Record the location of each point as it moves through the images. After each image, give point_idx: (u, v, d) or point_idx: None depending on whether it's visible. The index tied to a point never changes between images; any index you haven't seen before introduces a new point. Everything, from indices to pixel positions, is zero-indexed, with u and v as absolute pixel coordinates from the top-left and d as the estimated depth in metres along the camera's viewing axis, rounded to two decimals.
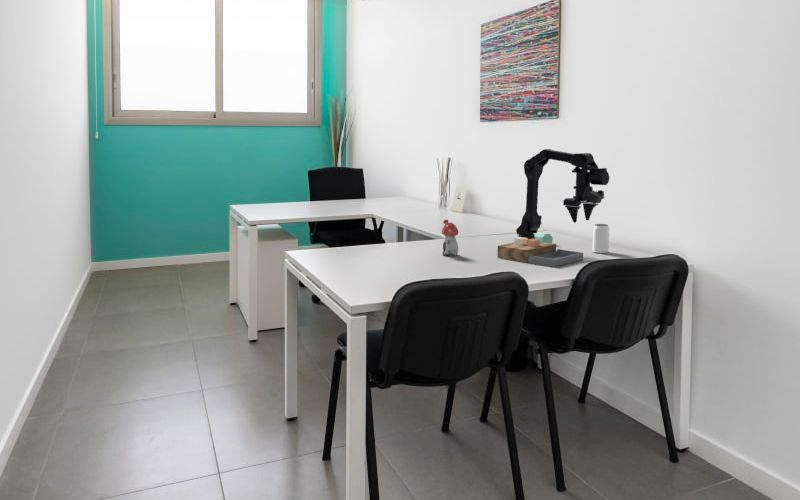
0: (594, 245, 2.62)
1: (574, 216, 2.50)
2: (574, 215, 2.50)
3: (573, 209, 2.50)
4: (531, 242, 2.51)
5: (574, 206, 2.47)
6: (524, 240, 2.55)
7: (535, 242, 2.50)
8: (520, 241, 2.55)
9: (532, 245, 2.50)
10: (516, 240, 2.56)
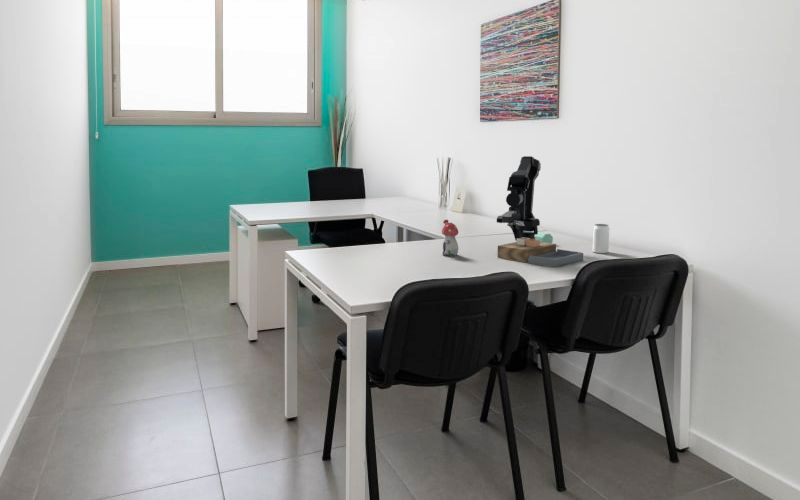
0: (594, 245, 2.62)
1: None
2: None
3: None
4: (531, 242, 2.51)
5: (508, 224, 2.59)
6: None
7: (535, 242, 2.50)
8: (522, 241, 2.54)
9: (532, 245, 2.50)
10: (518, 240, 2.56)
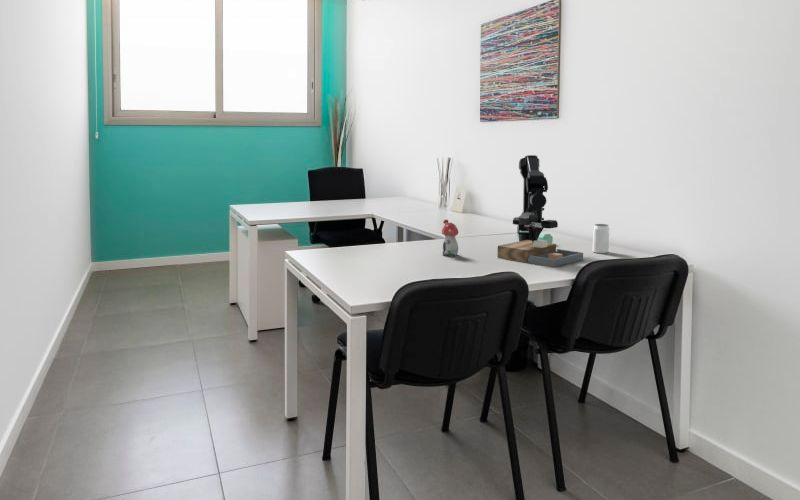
0: (594, 245, 2.62)
1: None
2: None
3: None
4: (550, 258, 2.45)
5: (525, 225, 2.52)
6: (543, 243, 2.48)
7: None
8: (539, 244, 2.48)
9: (549, 255, 2.45)
10: (535, 243, 2.49)
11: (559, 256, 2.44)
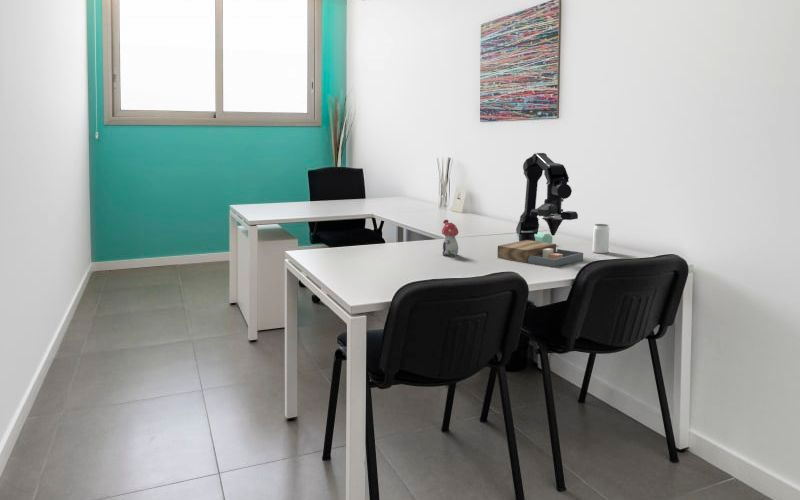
0: (594, 245, 2.62)
1: None
2: None
3: None
4: (551, 258, 2.45)
5: (543, 217, 2.45)
6: None
7: None
8: (545, 257, 2.47)
9: (550, 255, 2.45)
10: (546, 252, 2.47)
11: (559, 256, 2.44)
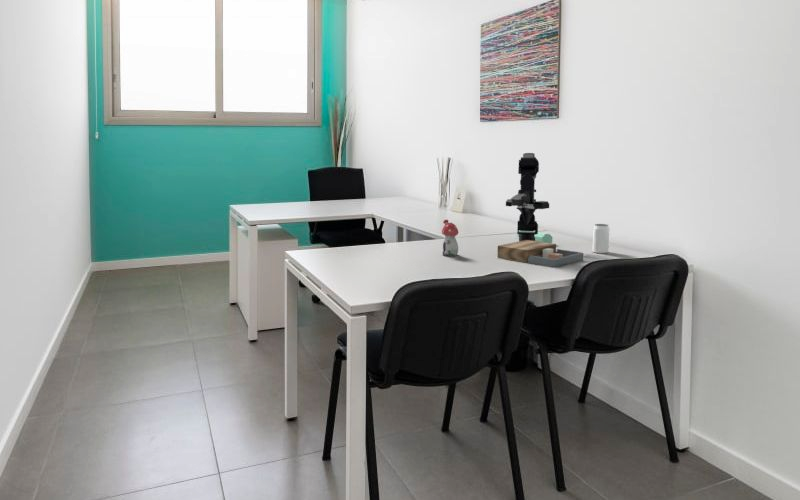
0: (594, 245, 2.62)
1: None
2: None
3: None
4: (551, 258, 2.45)
5: None
6: None
7: None
8: (545, 257, 2.47)
9: (550, 255, 2.45)
10: (546, 252, 2.47)
11: (559, 256, 2.44)
